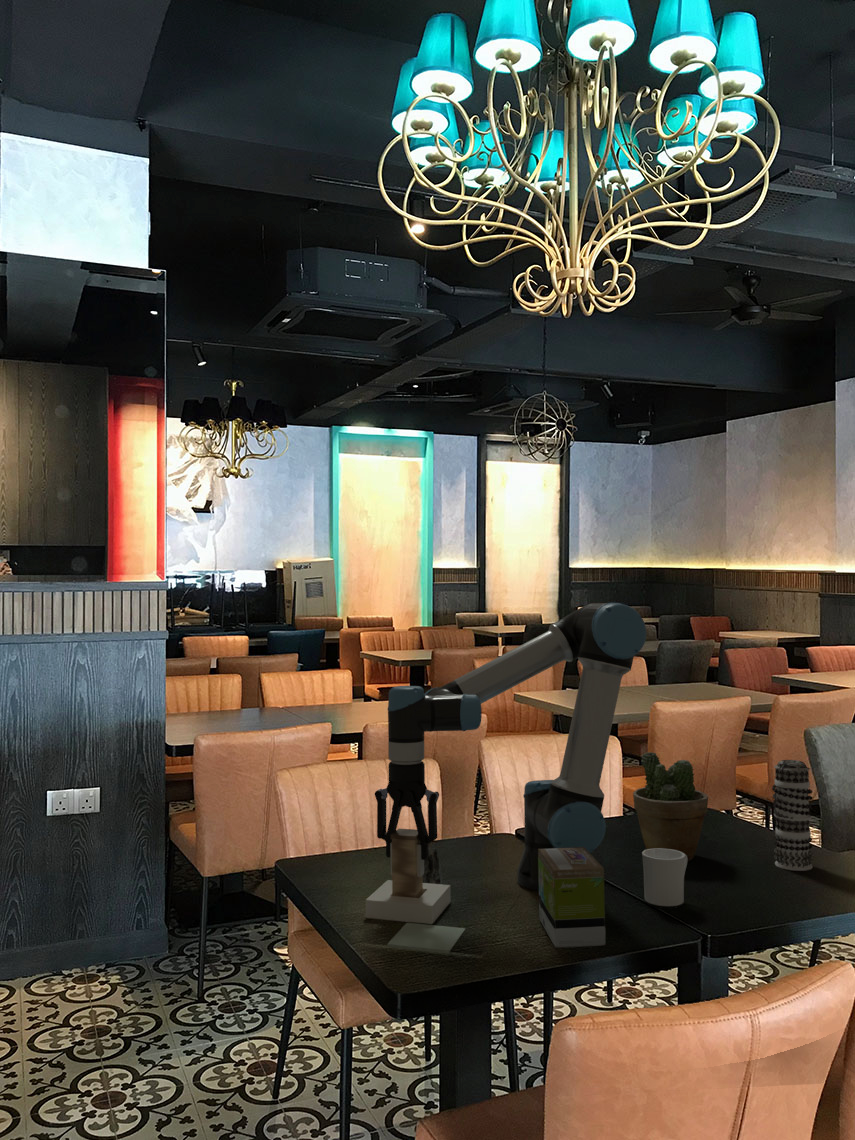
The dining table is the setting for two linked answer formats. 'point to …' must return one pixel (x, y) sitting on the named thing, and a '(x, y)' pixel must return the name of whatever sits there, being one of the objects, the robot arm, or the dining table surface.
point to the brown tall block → (405, 864)
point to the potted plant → (670, 806)
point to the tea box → (571, 897)
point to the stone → (432, 868)
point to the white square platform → (408, 904)
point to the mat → (426, 938)
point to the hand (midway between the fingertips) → (407, 873)
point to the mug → (664, 877)
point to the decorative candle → (792, 816)
